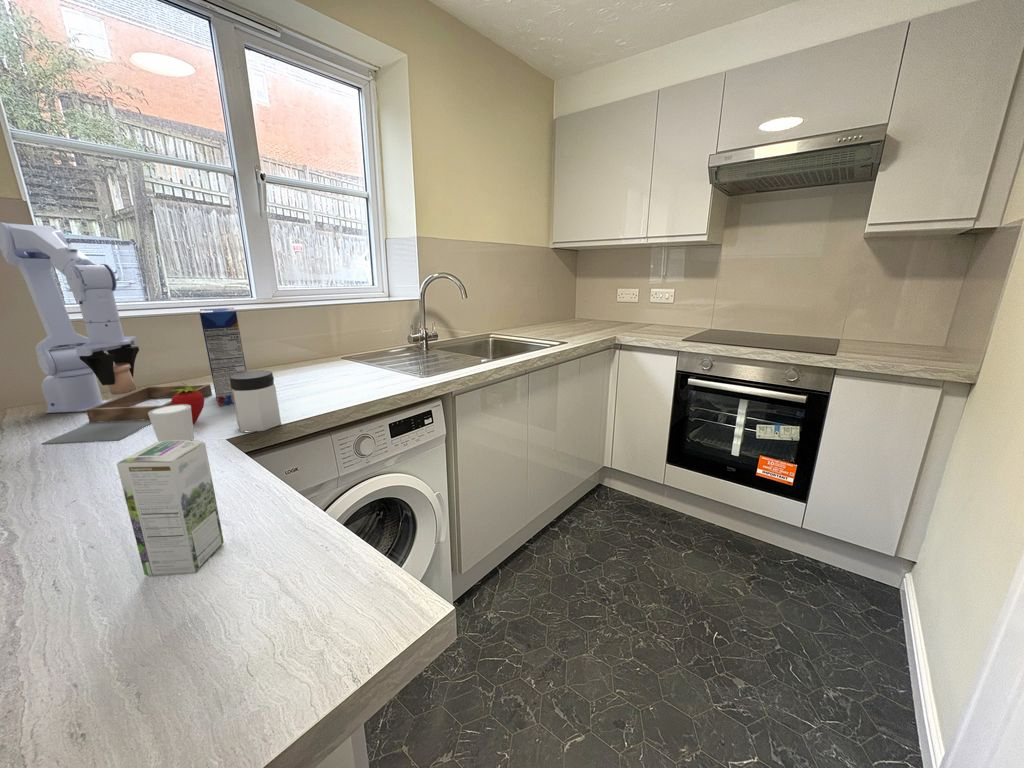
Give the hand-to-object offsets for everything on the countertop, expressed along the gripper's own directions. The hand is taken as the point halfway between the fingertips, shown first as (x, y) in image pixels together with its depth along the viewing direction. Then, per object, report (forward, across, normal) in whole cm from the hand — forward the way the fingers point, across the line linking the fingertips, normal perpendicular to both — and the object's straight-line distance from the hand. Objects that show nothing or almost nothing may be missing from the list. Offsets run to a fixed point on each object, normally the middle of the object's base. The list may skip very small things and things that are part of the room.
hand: (118, 381), depth 94 cm
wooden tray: (+10, +10, 0) cm, 14 cm away
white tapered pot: (+10, -15, -19) cm, 26 cm away
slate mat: (+10, -7, 0) cm, 12 cm away
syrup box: (+10, -55, -42) cm, 70 cm away
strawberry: (+10, -4, -16) cm, 19 cm away
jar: (+10, -8, -32) cm, 34 cm away
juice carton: (+10, +15, -16) cm, 24 cm away
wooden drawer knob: (+2, +1, 0) cm, 3 cm away
